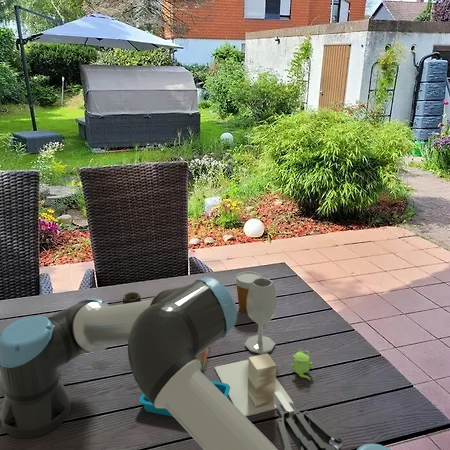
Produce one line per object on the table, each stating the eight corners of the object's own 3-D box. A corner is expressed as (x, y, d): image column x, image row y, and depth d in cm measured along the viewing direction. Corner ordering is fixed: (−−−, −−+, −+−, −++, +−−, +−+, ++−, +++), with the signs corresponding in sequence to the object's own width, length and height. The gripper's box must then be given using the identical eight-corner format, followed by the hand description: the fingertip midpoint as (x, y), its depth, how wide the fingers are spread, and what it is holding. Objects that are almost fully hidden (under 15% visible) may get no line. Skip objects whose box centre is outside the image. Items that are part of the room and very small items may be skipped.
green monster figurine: (310, 381, 118) (311, 363, 116) (289, 377, 119) (291, 359, 117) (312, 367, 123) (314, 349, 121) (293, 363, 125) (294, 346, 123)
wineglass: (280, 345, 133) (284, 281, 126) (262, 358, 127) (264, 292, 120) (257, 334, 138) (259, 272, 131) (239, 346, 132) (240, 282, 125)
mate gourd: (145, 311, 151) (144, 285, 147) (142, 323, 144) (140, 296, 140) (124, 311, 151) (122, 285, 147) (119, 324, 143) (117, 296, 140)
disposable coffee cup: (267, 306, 154) (268, 275, 150) (253, 319, 147) (254, 286, 143) (243, 299, 159) (244, 268, 155) (229, 310, 151) (229, 278, 147)
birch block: (255, 407, 108) (256, 369, 104) (247, 394, 112) (248, 357, 109) (274, 403, 110) (276, 365, 106) (265, 389, 114) (267, 353, 110)
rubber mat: (240, 418, 105) (240, 416, 105) (214, 368, 123) (214, 367, 123) (293, 404, 110) (293, 402, 110) (261, 358, 127) (261, 356, 127)
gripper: (300, 509, 79) (249, 416, 100) (363, 488, 83) (301, 403, 104) (303, 477, 77) (250, 389, 98) (367, 457, 81) (303, 376, 102)
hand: (277, 396), depth 101 cm, fingers closed
